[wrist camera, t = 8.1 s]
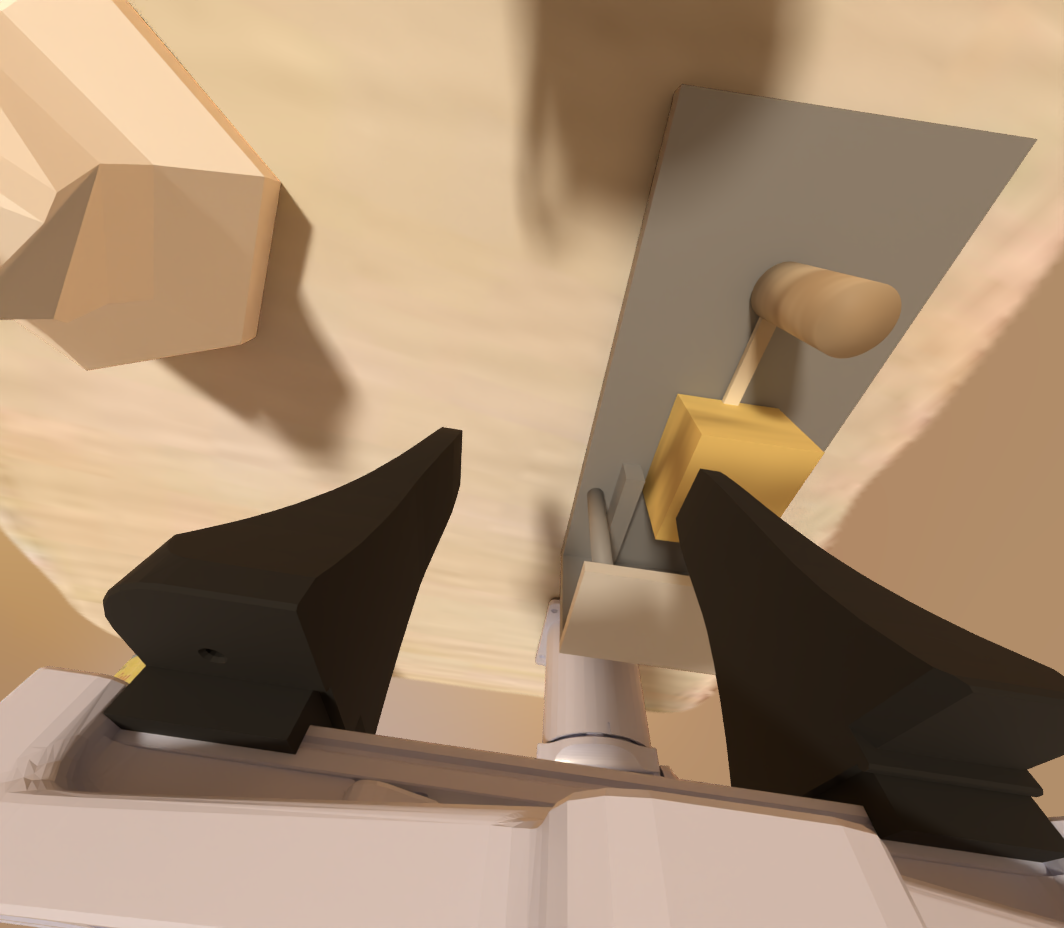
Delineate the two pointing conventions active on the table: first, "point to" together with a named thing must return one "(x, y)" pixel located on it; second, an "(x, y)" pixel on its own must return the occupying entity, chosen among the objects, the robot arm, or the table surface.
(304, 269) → the table surface
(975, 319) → the table surface
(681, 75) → the table surface
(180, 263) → the cream faceted rock
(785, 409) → the plate
